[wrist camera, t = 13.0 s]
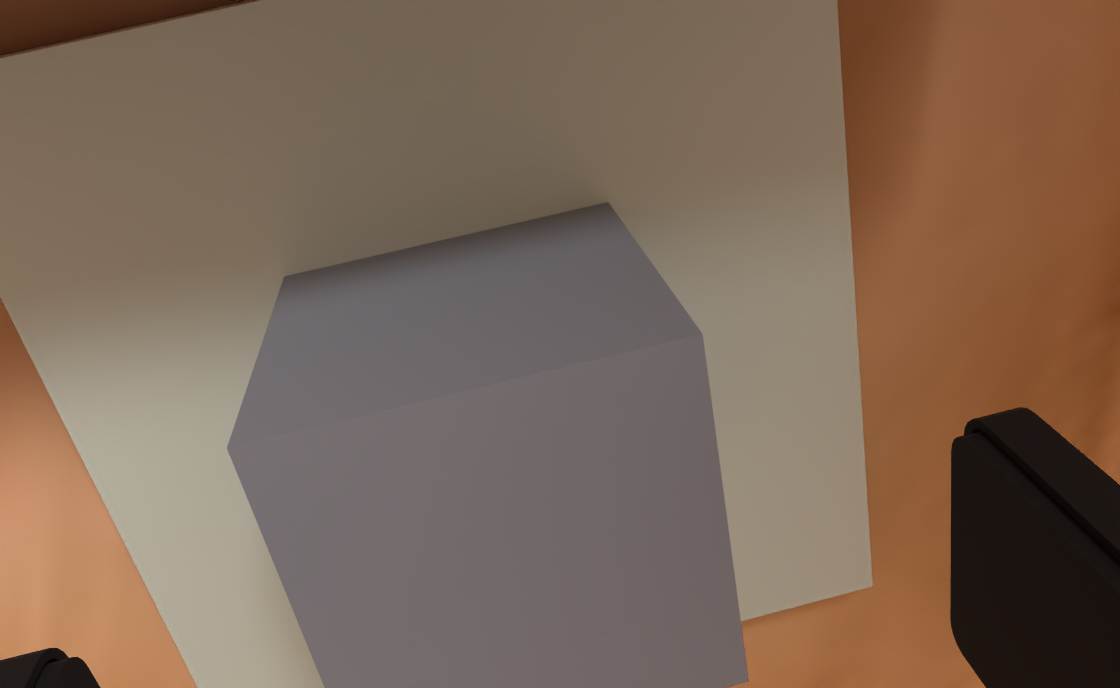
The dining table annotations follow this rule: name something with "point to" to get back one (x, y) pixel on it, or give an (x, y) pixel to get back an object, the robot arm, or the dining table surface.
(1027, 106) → the dining table surface
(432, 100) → the display mat
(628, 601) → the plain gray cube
